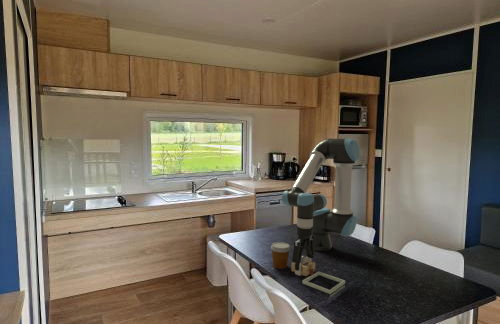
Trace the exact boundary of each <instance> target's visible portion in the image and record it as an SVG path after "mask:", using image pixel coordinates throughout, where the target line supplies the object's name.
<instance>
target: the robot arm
mask: <svg viewBox="0 0 500 324" xmlns="http://www.w3.org/2000/svg"><path fill="white" fill-rule="evenodd" d="M360 153H361V152H360V146H359V143H358V142H357V140H355V139H354V138H326V139H323V140H321V141H320V142H319V143H317V144H316V145H315V146H314V147H313V148H312V150H311V151H310V153H309V158H308V159H307V162H306V163H305V165H304V167H303V168H302V170H301V171H300V173H299V175H298V177H297V179H296V180H295V181H294V184H293V185H292V186H291V189H290V190H284V191H283V193H282V195H281V202H282V204H283V205H285V206H289V207H295V208H296V209H297V210H296V213H297V214H296V235H297V236H298V238H297V241H296V240H294V241H293V246H294V247H293V251H292V252H293V254H292V261H291V263H292V262H293V263H295V272H294V275H295V276H296V275H297V276H299V277H301V276H302V275H301V263H300V261H301V258H302V256H303V255H304V254H303V253H304V250H305V253H306V260H308V261H311V262H312V259H314V258H315V251H316V252H326V251H327V252H328V251H330V250H331V249H332V246H333V245H332V240H331V237H330V233H331V234H336V235H340V236H343V237H344V236H345V237H350V236H352V235H353V234H354V233H355V230H356V227H357V221H358V219H357V217H356V216H355V215H354V211H353V210H352V208H351V197H352V195H351V194H352V173H353V172H352V171H353V166H355V164H356V161H358V159H359V158H360ZM326 160H327V161H328V160H333V161H332V163H333V165H334V166H335V177H334V178H335V179H334V180H335V181H334V182H335V183H334V206H333V208H332V209H330V207H329V208H328V207H326V206H327V204H328V203H327V202H328V201H327V198H326V196H325V195H324V194H321V193H316V194H314V193H310V192H307V191H308V190H309V187H310V186H311V184H312V182H313V180H314V179H315V177H316V175H317V173H318V172H319V170H320V168H321V166H322V165H323V164H324V163H326Z"/></svg>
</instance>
